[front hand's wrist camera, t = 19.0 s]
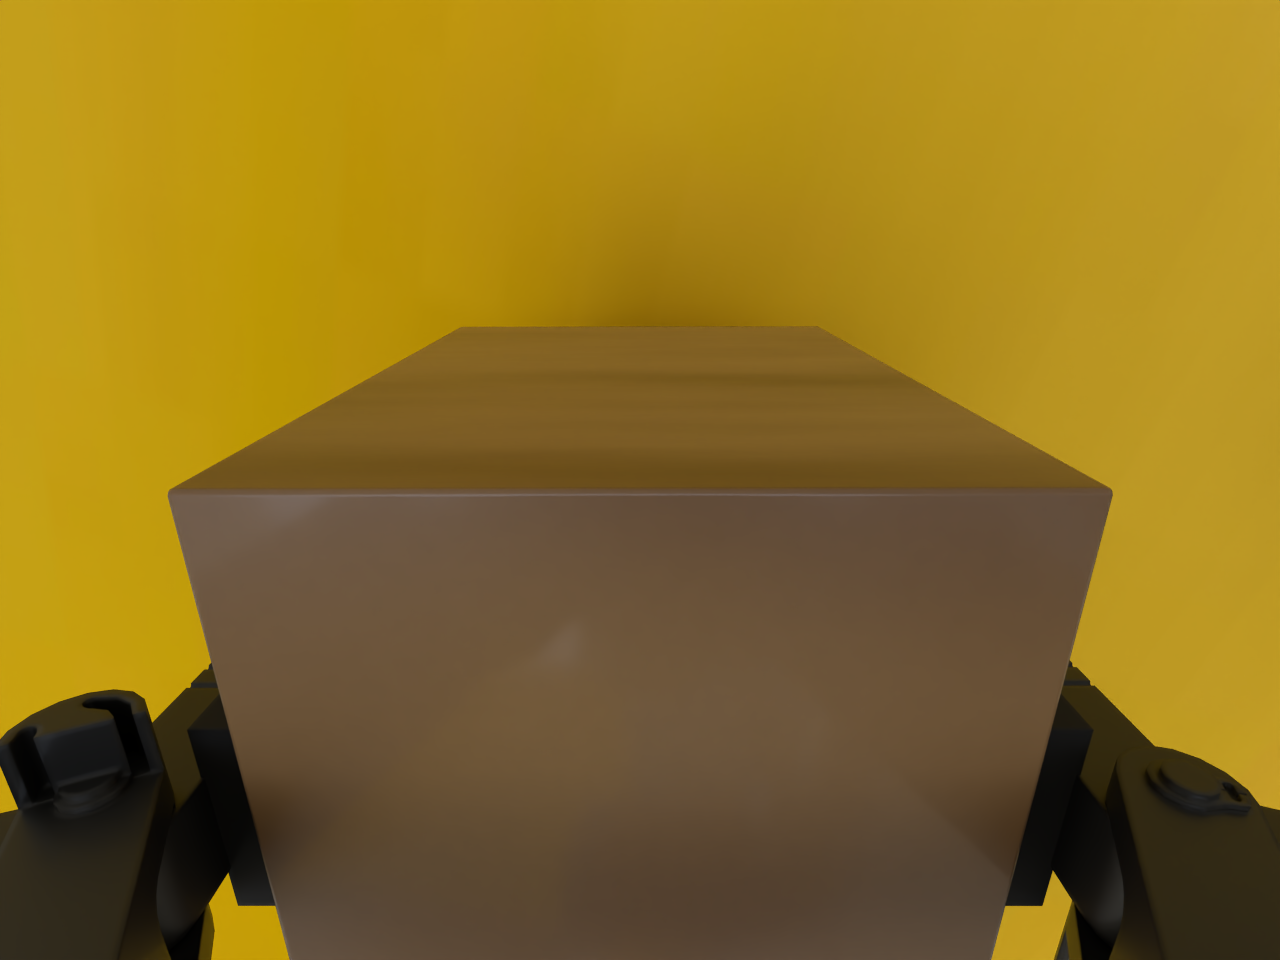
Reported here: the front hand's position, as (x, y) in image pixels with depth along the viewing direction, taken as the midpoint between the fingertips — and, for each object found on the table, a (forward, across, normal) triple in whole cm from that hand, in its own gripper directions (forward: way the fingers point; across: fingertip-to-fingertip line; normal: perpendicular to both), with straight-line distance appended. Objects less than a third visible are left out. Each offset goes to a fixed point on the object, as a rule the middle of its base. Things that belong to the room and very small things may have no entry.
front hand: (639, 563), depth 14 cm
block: (+4, 0, 0) cm, 4 cm away
